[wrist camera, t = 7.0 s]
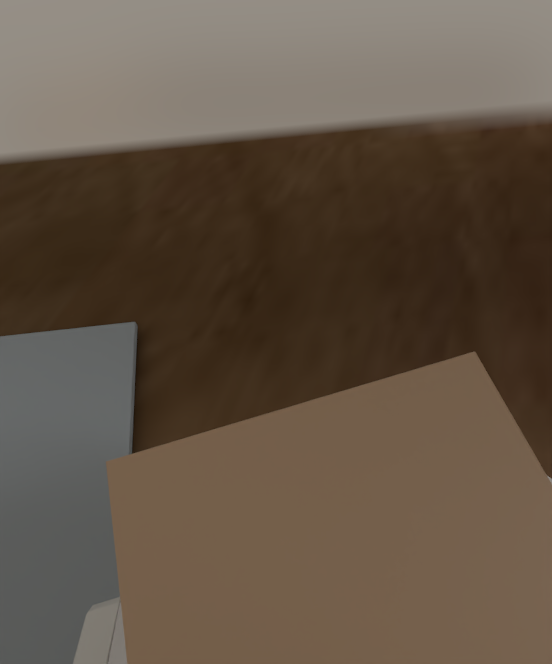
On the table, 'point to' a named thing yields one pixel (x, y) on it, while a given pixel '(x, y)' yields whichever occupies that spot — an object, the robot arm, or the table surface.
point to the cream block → (342, 532)
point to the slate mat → (59, 482)
